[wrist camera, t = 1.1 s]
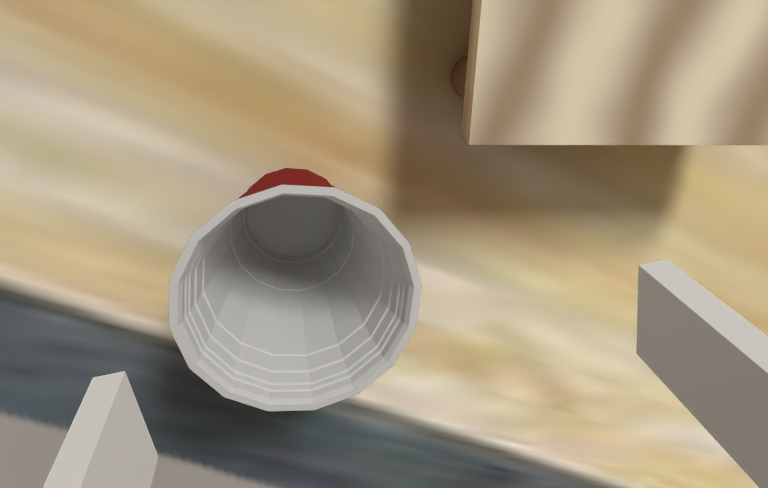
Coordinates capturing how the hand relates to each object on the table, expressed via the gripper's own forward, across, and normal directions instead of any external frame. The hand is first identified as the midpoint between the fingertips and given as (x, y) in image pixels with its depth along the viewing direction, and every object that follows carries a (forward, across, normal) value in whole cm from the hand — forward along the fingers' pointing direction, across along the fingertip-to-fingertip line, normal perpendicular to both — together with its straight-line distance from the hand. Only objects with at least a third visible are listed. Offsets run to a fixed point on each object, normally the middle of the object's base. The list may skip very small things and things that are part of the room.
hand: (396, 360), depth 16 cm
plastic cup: (+22, -3, -4) cm, 23 cm away
